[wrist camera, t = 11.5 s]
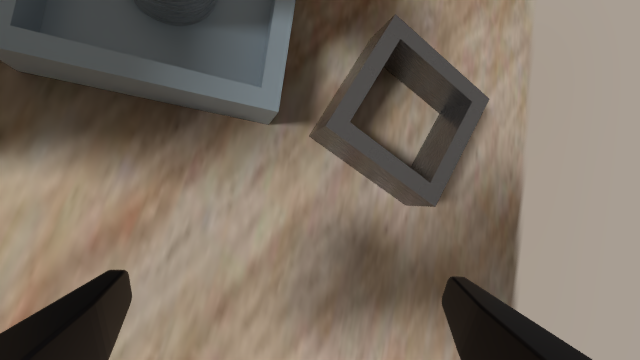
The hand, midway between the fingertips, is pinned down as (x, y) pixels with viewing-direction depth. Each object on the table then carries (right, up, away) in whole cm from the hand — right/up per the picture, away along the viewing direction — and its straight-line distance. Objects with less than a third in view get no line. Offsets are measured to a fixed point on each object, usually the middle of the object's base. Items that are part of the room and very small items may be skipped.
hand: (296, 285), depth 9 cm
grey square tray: (+5, +7, +12) cm, 15 cm away
